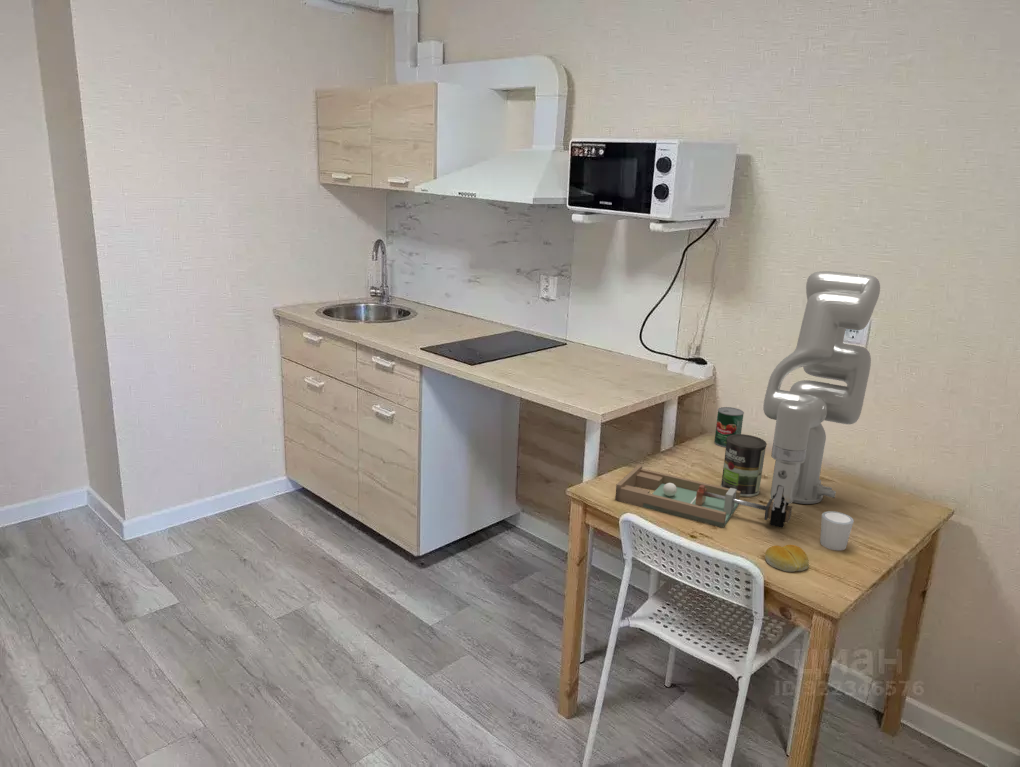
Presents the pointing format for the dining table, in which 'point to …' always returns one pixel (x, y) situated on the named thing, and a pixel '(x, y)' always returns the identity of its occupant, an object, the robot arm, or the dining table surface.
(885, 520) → the dining table surface
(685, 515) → the pitch
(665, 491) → the ball
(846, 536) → the white cup
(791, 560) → the bread roll
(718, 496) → the kicker rod
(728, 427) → the canned tomato
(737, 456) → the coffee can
